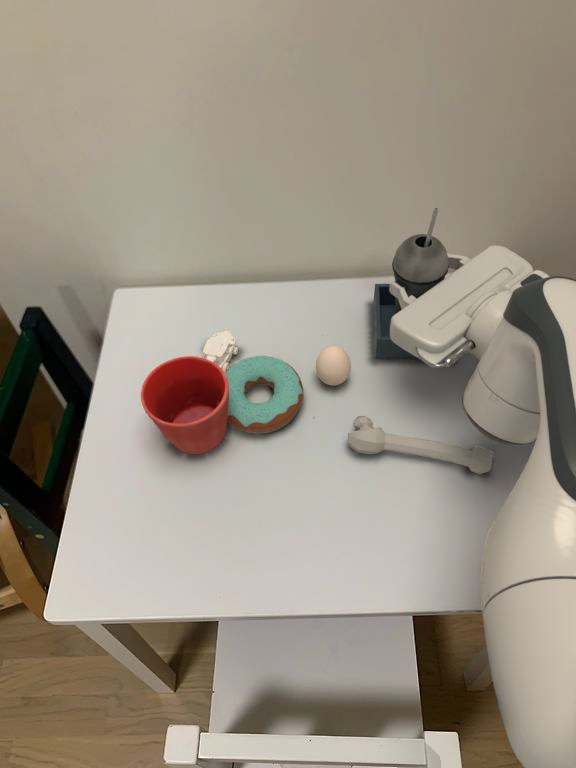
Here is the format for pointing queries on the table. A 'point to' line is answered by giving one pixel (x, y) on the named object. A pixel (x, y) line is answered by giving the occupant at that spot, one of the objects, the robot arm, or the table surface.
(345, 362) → the egg
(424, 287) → the beverage cup
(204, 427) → the flower pot
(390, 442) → the bone
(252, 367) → the donut
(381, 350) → the freezer basket
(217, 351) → the toy car
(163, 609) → the table surface
